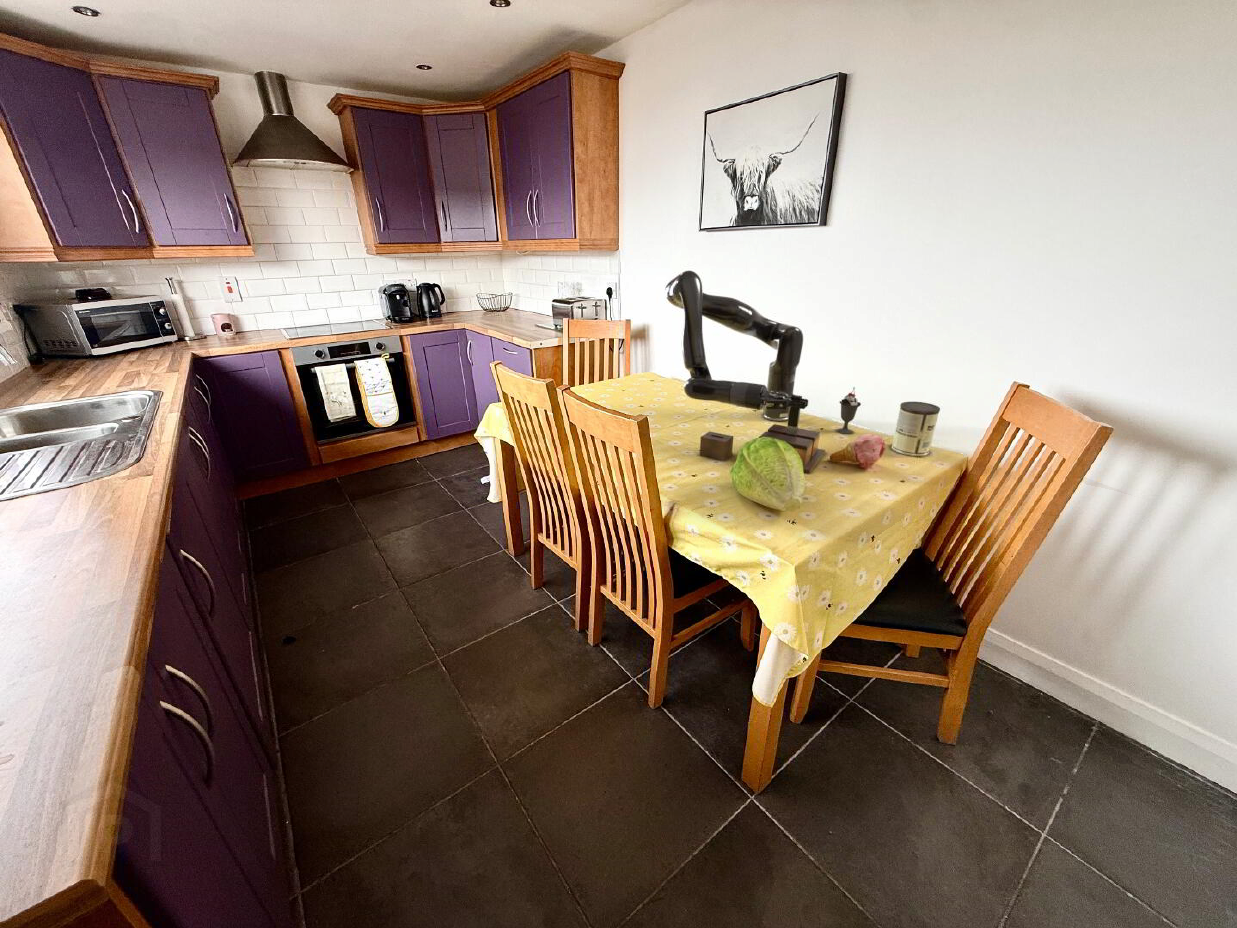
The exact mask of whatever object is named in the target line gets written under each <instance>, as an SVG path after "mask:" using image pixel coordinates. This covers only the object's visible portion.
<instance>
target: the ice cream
mask: <svg viewBox="0 0 1237 928" xmlns="http://www.w3.org/2000/svg"><path fill="white" fill-rule="evenodd" d="M885 452H886V442H885V440H884V439H883V438H882V437H881V436H879V435H876V434H871V433H869V434H868V433H864V434H861V435H859V436H858V437H857V438H855V440H854V442H853V441H852V442H849V443H848V444H847V445H846V446H845V447H844V448H842V449H841V450H838V451H835V452H834V453H831V454H830V455H829V461H830V462H832V463H840V462H850V463H853V464H857V463H858V467H860V468H861V469H869V468H872V467H873V466H874V464H876V463H877V462H878V461H879V460H880V459H881V458H882V457H883V455H884V454H885Z"/></svg>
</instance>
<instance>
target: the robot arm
mask: <svg viewBox="0 0 1237 928" xmlns="http://www.w3.org/2000/svg"><path fill="white" fill-rule="evenodd" d="M664 294H665V297H666V299H667V301H668V302H669V303H670V304H671V305H672V306H674V307H676V308H679V309H681V310H683V313H684V317H683V318H684V319H683V329H682V334H681V335H682V336H681V351H682V358H683V365H684V368H685V370H687V371H688V372H689V374H690V377H689V378H688V379H686V381H685V382H684V385H683V391H684V393H685V395H686V396H687V397H688V398H690V399H692V400H696V401H697V400H698V401H709V402H717V403H720V404H726V405H732V406H736V407H739V408H743V409H744V408H745V409H750V410H756V411H761V410H763V411H762V415H763V418H764V419H766V420H768V421H773V422H784V421H788V419H789V411H790V408H791V407H793V408H799V409H800V410H805V409H806V408H807V407H808V406H809V399H808V398H802V401H801V400H794V399H793V401H792V399H791V397H792V395H795V394H794V389H795V382H796V381H795V380H796V374H797V369H798V366H799V364H800V362H801V358H802V351H803V346H804V333H803V331H802V330H801V329H800V328H799V327H798V326H794V325H790V324H787V323H782V322H778V321H775V320H772V319H769V318H767V317H765V316H763V315H762V314H761V313H760V312H759V311H758V310H757V309H755V308H753V307H752V306H751V305H749V304H747V303H746V302H743V301H741V300H739V299H738V298H737V299H736V298H734V297H729V296H723V295H713V294H709V293H705V292H703V282H702V280H701V277H700V276H699V274H698V273H697V272H695V271H693V270H685V271H683V272H680V273H679V274H678V275H676V276H675V277H674V278H672V279H671V280H670V281H669V282H668V283H667V284H666V286H665V288H664ZM703 317H704V318H706V319H708V320H711V321H712V322H716V323H718V324H719V325H721V326H723V327H726V328H727V329H730V330H732V331H734V332H737V333H739V334H742V335H746V336H748V337H749V336H750V337H753V338H755V339H757V340H759V341H761V343H764V344H766V345H767V346H769V347H770V348H771V349H773V350H775V351H776V357H775V360H773V361H771V362H770V363H769V366H768V373H767V374H768V376H767V384H766V385H765V384H760V383H754V382H746V381H733V380H724V379H722V380H721V379H713V378H712V375H711V371H710V369H709V366H708V363H707V358H706V349H705V342H704V333H703V332H704V331H703Z"/></svg>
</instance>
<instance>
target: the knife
mask: <svg viewBox="0 0 1237 928" xmlns="http://www.w3.org/2000/svg"><path fill="white" fill-rule="evenodd" d="M791 399H792V401H793V399H794V400H801V401H802V399H803V395H798V394H794V395H792V397H791ZM800 415H801V409H799V408H793V407H791V408H790V411H789V419H788V420H787V425H786V426H787V432H786V435H788V436H793V437H797V431H798V428H799V421H800Z"/></svg>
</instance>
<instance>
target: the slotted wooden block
mask: <svg viewBox="0 0 1237 928" xmlns="http://www.w3.org/2000/svg"><path fill="white" fill-rule="evenodd" d="M786 432H787V425H781V424H776V423H773V424H772V425H771V426H770V427H769V428H768V429H767V431H763V432H762V434H761V435H759V436H758V438H762V437H770V438H774V439H778V440H783V441H785V442H787V443H788V444H789V445H791V446H792V447H793V448H794V449H795V450H796V451H797V452H798V454H799V456H800V458H801V460H802V462H803V472H804V474H805V473H806V474H810V473H811V472H812V471H813V470H814V468H815V467H816V465H817V464H818V463H819V462H820V461H821V459H823V457H824V456H825V454H826V449H822V448H819V443H820V435H821V432H820V431H816V430H810V429H804V428H799V427H798V431H797V437H793V436H788V435H786Z"/></svg>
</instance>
